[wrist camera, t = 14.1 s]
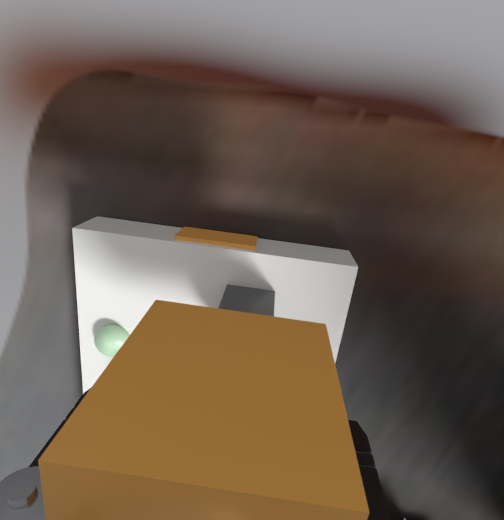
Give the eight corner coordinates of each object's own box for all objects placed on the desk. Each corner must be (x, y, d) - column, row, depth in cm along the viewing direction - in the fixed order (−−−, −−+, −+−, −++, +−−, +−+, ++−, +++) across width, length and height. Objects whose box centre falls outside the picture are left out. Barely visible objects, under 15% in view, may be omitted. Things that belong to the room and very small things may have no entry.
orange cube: (325, 323, 11) (369, 512, 6) (297, 451, 13) (309, 683, 8) (155, 299, 12) (37, 460, 6) (152, 428, 14) (62, 640, 8)
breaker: (275, 290, 17) (273, 316, 15) (268, 332, 18) (266, 363, 16) (227, 284, 17) (218, 308, 15) (223, 326, 18) (213, 355, 16)
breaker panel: (349, 246, 19) (361, 266, 16) (293, 494, 26) (295, 539, 23) (97, 212, 19) (66, 226, 17) (107, 464, 26) (86, 504, 23)
